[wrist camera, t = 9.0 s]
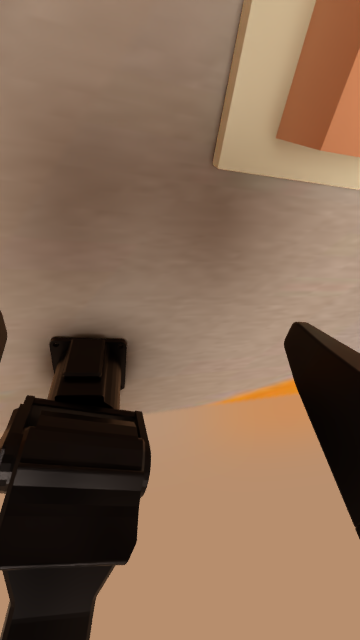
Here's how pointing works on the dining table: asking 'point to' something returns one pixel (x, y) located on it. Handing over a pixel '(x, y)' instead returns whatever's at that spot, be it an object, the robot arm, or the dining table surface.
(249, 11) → the cream flat block
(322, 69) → the brick
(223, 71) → the dining table surface
